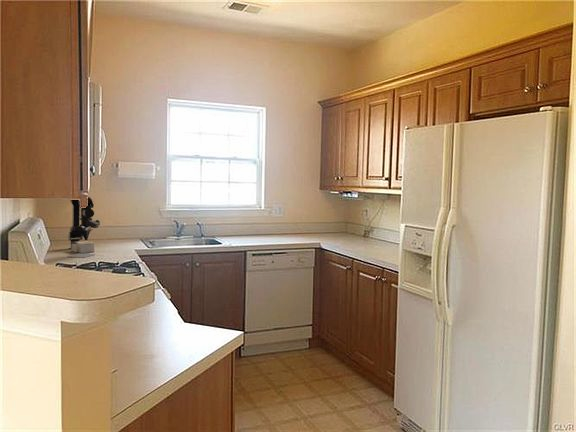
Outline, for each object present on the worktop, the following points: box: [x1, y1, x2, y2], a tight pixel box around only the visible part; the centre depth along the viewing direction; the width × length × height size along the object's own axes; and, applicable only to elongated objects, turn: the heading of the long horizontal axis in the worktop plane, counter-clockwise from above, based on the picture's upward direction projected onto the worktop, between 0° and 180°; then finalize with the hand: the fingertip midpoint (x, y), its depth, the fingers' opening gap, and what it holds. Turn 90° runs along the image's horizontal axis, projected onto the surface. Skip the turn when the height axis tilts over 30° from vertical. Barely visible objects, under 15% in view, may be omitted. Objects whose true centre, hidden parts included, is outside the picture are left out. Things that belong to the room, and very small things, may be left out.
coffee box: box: [70, 240, 95, 254], centre depth 331 cm, size 9×6×16 cm
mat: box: [67, 253, 96, 259], centre depth 313 cm, size 12×12×1 cm
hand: (86, 240), depth 318 cm, fingers closed
